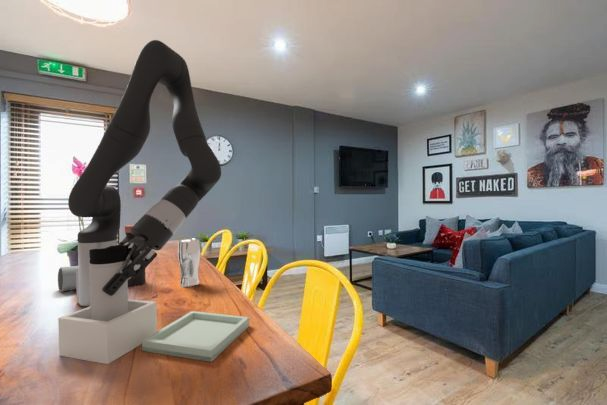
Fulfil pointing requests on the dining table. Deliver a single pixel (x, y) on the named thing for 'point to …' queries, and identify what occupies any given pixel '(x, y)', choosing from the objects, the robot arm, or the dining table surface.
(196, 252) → the beer glass
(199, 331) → the tray
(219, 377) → the dining table surface
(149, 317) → the holder
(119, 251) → the travel mug
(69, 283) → the ceramic mug
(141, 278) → the bottle
